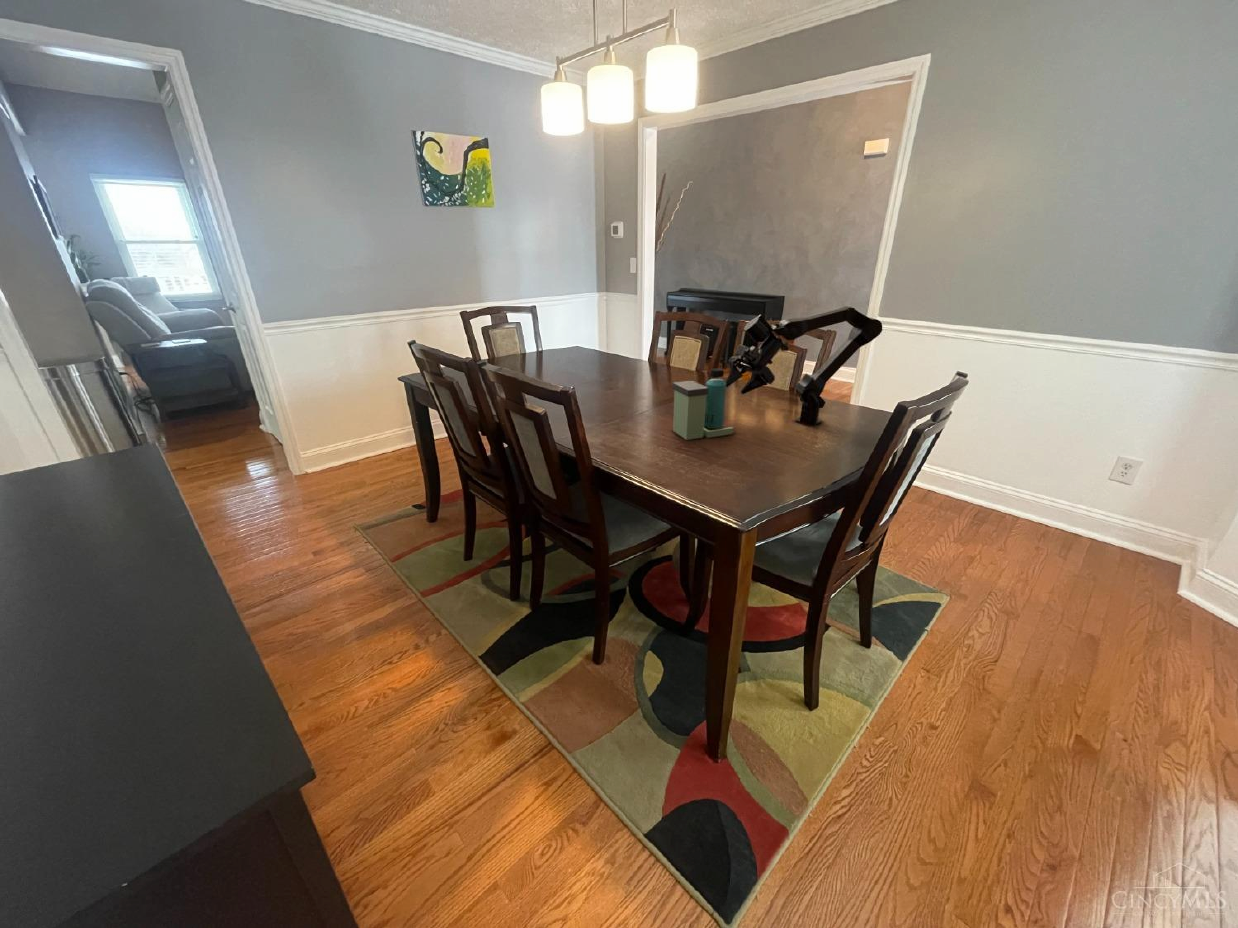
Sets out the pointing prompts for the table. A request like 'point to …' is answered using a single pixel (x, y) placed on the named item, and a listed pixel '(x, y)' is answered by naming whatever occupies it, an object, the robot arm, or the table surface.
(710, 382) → the beverage bottle
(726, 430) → the drink station
